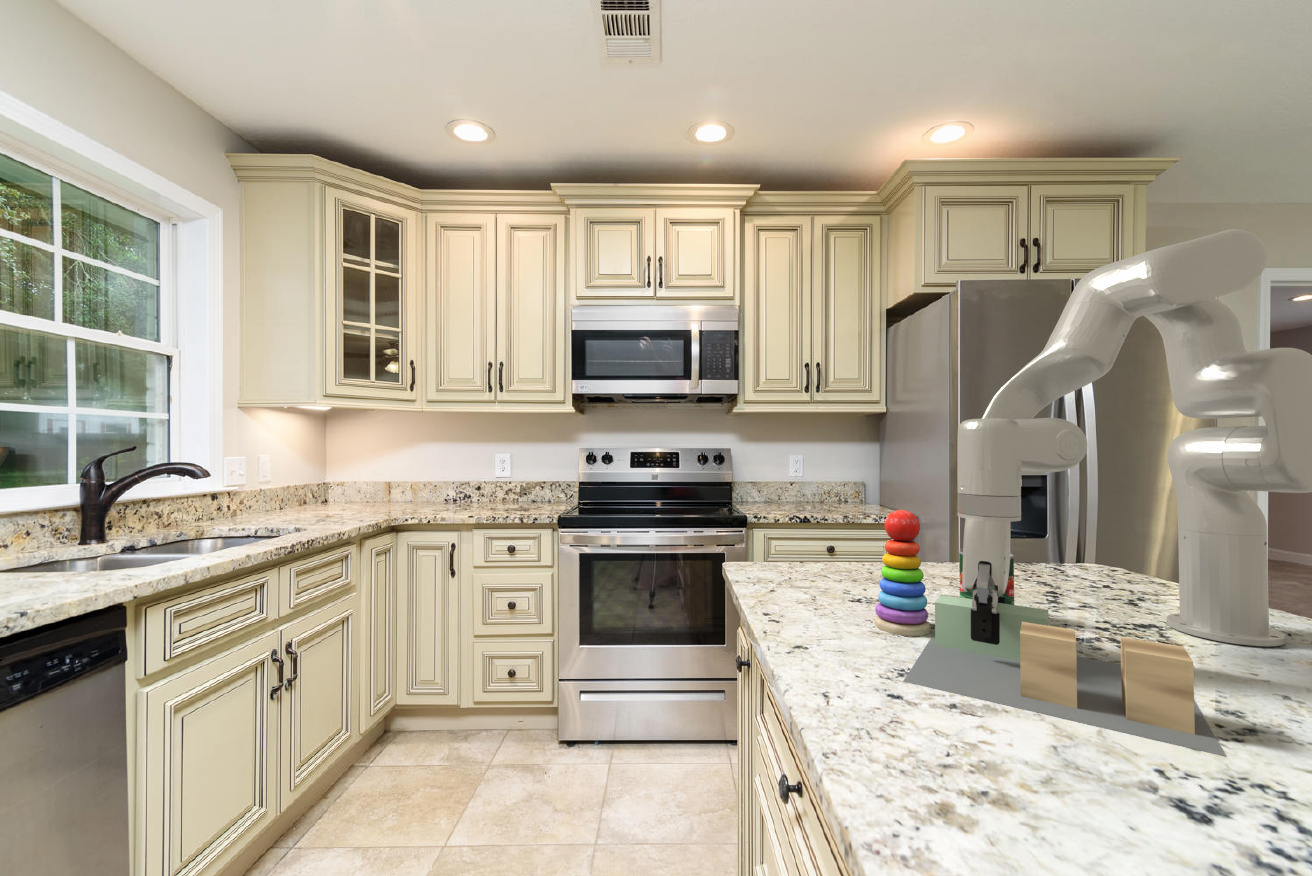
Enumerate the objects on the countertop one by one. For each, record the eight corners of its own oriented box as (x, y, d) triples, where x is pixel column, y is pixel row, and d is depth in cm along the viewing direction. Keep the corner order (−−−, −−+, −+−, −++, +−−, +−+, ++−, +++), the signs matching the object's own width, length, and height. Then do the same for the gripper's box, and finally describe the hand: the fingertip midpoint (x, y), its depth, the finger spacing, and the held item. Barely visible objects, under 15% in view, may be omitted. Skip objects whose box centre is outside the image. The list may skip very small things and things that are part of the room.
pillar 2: (1121, 701, 60) (1120, 637, 60) (1184, 714, 57) (1183, 646, 57) (1126, 719, 56) (1125, 650, 56) (1194, 734, 53) (1193, 661, 53)
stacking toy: (937, 642, 80) (936, 513, 80) (879, 638, 81) (878, 512, 82) (922, 625, 88) (921, 508, 88) (870, 622, 89) (869, 507, 90)
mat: (935, 635, 83) (935, 631, 83) (1180, 679, 67) (1179, 674, 67) (903, 686, 65) (903, 681, 65) (1226, 763, 49) (1226, 756, 49)
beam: (941, 635, 81) (940, 594, 81) (1049, 654, 73) (1048, 609, 73) (935, 645, 77) (934, 602, 77) (1048, 666, 69) (1048, 619, 69)
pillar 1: (1022, 680, 65) (1021, 621, 65) (1075, 691, 62) (1074, 629, 62) (1020, 696, 61) (1019, 633, 61) (1077, 708, 58) (1076, 642, 58)
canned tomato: (1026, 626, 87) (1025, 557, 87) (976, 626, 87) (975, 557, 87) (995, 612, 95) (995, 548, 95) (950, 611, 95) (949, 548, 95)
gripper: (965, 501, 85) (965, 612, 84) (948, 510, 71) (948, 644, 70) (1023, 505, 80) (1024, 622, 80) (1017, 515, 66) (1018, 657, 66)
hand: (988, 632), depth 75 cm, fingers open, 9 cm apart
